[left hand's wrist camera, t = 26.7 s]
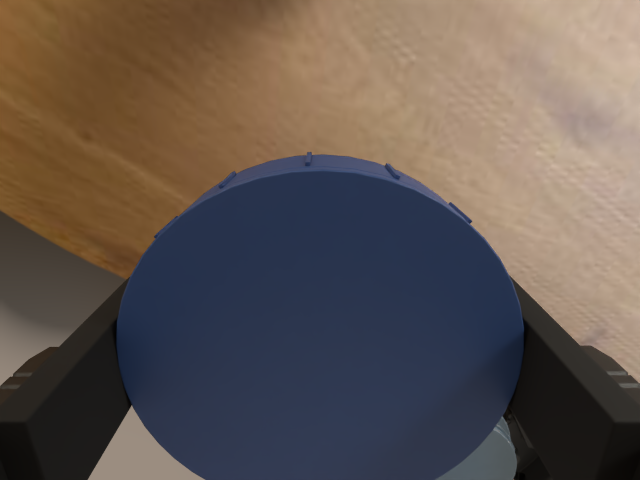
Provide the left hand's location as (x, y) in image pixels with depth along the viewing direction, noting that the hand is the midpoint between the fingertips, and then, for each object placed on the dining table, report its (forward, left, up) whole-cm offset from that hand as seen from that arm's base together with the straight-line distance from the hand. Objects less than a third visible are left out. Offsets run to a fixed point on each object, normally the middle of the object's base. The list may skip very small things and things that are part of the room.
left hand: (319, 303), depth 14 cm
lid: (0, 0, +3) cm, 3 cm away
